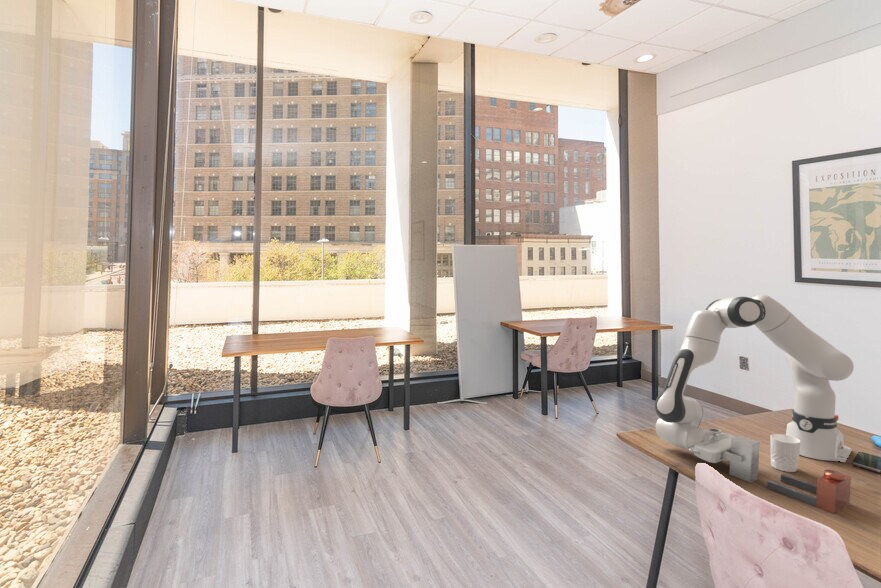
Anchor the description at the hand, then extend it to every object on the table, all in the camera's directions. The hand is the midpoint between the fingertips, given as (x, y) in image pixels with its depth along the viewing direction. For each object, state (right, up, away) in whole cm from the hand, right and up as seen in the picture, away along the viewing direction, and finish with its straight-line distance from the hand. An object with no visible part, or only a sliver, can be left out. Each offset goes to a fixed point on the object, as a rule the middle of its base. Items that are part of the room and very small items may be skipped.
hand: (747, 457), depth 138 cm
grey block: (0, -6, +1) cm, 7 cm away
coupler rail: (+10, -7, -10) cm, 16 cm away
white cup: (+17, -6, +8) cm, 20 cm away
